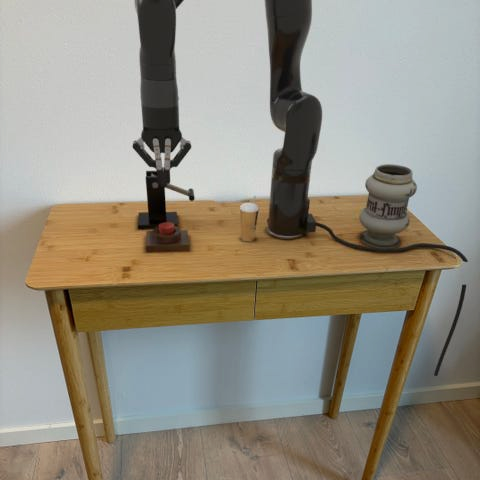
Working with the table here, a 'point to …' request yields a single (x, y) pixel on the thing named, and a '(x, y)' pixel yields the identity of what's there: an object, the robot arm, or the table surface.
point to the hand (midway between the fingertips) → (164, 185)
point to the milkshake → (248, 220)
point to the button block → (167, 241)
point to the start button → (166, 228)
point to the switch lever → (180, 190)
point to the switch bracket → (155, 205)
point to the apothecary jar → (387, 205)
